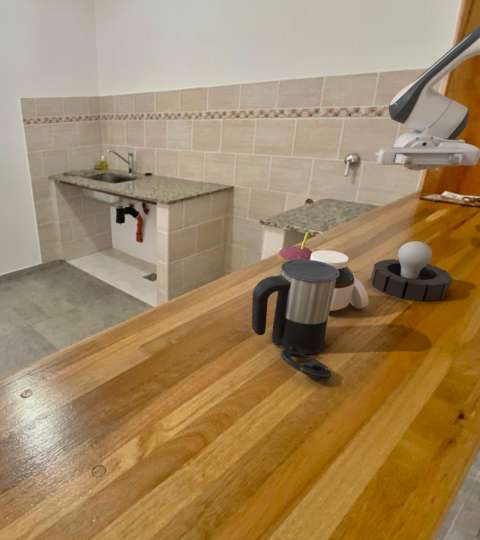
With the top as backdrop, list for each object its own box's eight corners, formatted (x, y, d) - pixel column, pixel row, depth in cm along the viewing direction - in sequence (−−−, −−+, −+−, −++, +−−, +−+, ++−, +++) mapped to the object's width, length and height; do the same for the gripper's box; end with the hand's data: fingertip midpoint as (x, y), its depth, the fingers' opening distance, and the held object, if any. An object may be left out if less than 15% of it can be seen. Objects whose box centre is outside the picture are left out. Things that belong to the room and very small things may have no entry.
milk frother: (298, 322, 77) (309, 254, 71) (371, 368, 63) (391, 289, 57) (240, 340, 73) (246, 270, 66) (304, 393, 59) (319, 311, 53)
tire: (436, 278, 91) (441, 263, 89) (453, 306, 79) (459, 288, 78) (368, 270, 96) (371, 256, 95) (374, 295, 85) (378, 279, 83)
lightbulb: (396, 292, 86) (408, 246, 81) (385, 280, 91) (396, 237, 87) (427, 293, 84) (441, 247, 80) (415, 281, 90) (427, 237, 85)
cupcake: (313, 269, 99) (321, 225, 94) (310, 282, 92) (317, 236, 87) (278, 264, 103) (284, 221, 98) (272, 276, 97) (278, 231, 92)
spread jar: (288, 301, 85) (295, 252, 80) (322, 288, 89) (331, 241, 85) (338, 326, 75) (350, 272, 70) (374, 310, 80) (387, 258, 75)
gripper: (375, 140, 104) (382, 147, 93) (471, 139, 95) (492, 146, 84) (370, 164, 106) (377, 173, 95) (464, 165, 98) (483, 175, 87)
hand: (432, 160), depth 89 cm, fingers open, 8 cm apart
